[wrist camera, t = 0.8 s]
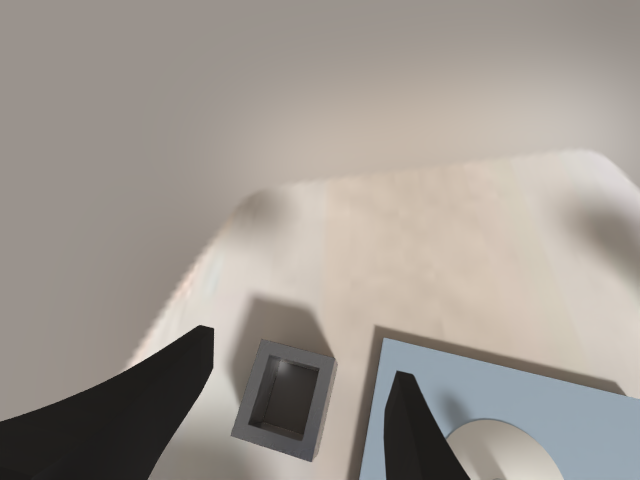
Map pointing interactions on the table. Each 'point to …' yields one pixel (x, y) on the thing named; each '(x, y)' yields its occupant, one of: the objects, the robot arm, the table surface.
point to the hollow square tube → (258, 396)
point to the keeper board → (510, 420)
